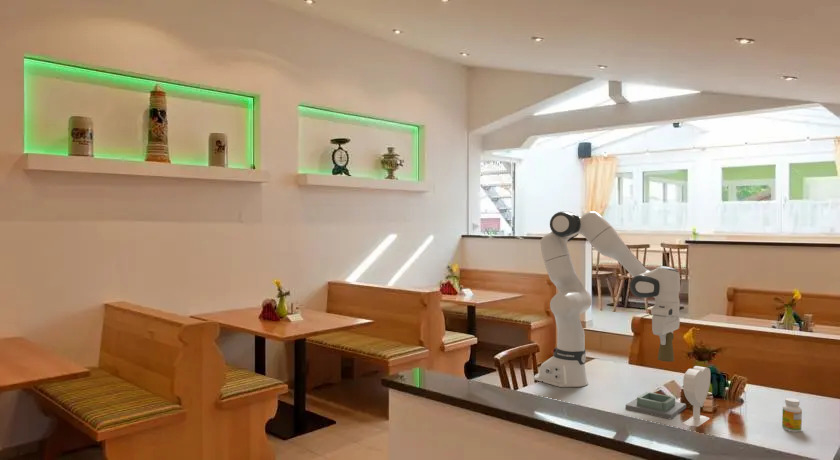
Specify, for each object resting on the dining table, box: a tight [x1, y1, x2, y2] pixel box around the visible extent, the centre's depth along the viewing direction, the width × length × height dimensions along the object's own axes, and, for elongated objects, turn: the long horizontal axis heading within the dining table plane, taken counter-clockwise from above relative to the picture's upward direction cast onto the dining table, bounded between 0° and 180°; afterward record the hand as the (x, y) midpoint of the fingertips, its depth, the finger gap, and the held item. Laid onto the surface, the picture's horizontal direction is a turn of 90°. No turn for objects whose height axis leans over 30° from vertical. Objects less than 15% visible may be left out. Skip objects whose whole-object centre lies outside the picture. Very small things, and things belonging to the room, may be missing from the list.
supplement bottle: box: [781, 397, 803, 432], centre depth 197 cm, size 5×5×10 cm
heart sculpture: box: [682, 365, 712, 428], centre depth 204 cm, size 16×5×18 cm, turn 136°
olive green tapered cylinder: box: [657, 332, 675, 363], centre depth 233 cm, size 6×6×11 cm
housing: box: [625, 391, 687, 420], centre depth 217 cm, size 16×16×4 cm
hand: (666, 343), depth 233 cm, fingers closed on olive green tapered cylinder, 4 cm apart
